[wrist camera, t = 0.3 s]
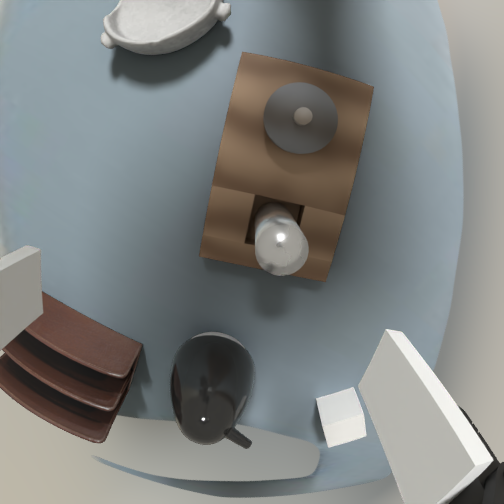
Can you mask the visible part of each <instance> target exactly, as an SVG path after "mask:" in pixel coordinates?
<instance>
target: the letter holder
mask: <svg viewBox="0 0 504 504" xmlns="http://www.w3.org/2000/svg"><path fill="white" fill-rule="evenodd" d="M42 303H43V314H41V315H40V316H39V317H38V318H37V319H35V320H34V321H33V322H32V323H31V324H30V325H29V326H27V327H26V328H25V329H24V330H23V331H22V332H21V333H19V334H18V335H17V336H16V337H15V338H14V339H13V340H12V341H10V342H9V343H8V344H7V345H6V346H5V347H4V348H3V349H2V350H3V351H4V352H5V353H4V354H3V355H2V356H1V357H0V388H1V389H2V390H3V391H4V392H5V393H6V394H8V395H9V396H10V397H11V398H12V399H14V400H15V401H16V402H18V403H19V404H20V405H22V406H23V407H25V408H26V409H27V410H29V411H30V412H32V413H34V414H35V415H37V416H38V417H40V418H42V419H44V420H45V421H47V422H49V423H51V424H53V425H54V426H57V427H58V428H60V429H62V430H64V431H66V432H69V433H71V434H73V435H75V436H78V437H80V438H83V439H85V440H88V441H91V442H93V443H103V442H104V441H105V440H106V438H107V436H108V433H109V431H110V429H111V426H112V424H113V422H114V420H115V418H116V415H117V413H118V411H119V409H120V407H121V405H122V403H123V401H124V399H125V397H126V395H127V393H128V391H129V388H130V385H131V381H132V378H133V375H134V372H135V369H136V365H137V362H138V359H139V356H140V352H141V349H142V344H141V343H139V342H136V341H134V340H133V339H130V338H128V337H126V336H124V335H122V334H120V333H117V332H116V331H114V330H112V329H110V328H108V327H106V326H104V325H102V324H100V323H98V322H96V321H94V320H92V319H90V318H89V317H87V316H85V315H83V314H81V313H79V312H77V311H76V310H74V309H72V308H70V307H69V306H66V305H65V304H63V303H62V302H60V301H58V300H56V299H54V298H53V297H51V296H49V295H48V294H46V293H44V292H42Z"/></svg>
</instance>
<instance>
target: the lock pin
mask: <svg viewBox="0 0 504 504" xmlns="http://www.w3.org/2000/svg"><path fill="white" fill-rule="evenodd" d="M308 252H309V247H308V242H307V239H306V237H305V236H304V234H303V233H302V231H301V229H300V228H299V226H298V224H297V223H296V221H295V220H294V218H293V217H292V215H291V213H290V212H289V210H288V209H287V208H286V207H285V206H284V205H283V204H281V203H278V202H268V203H265V204H263V205H262V206H261V207H260V208H259V209H258V210H257V212H256V215H255V254H256V259H257V261H258V263H259V265H260V266H261V267H262V268H263V269H264V270H265V271H267V272H268V273H270V274H273V275H278V276H285V275H290V274H292V273H294V272H296V271H298V270H299V269H300V268H301V267H302V266H303V265H304V263H305V262H306V260H307V257H308Z"/></svg>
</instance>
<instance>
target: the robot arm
mask: <svg viewBox="0 0 504 504" xmlns="http://www.w3.org/2000/svg"><path fill="white" fill-rule="evenodd" d="M41 314H43V303H42V285H41V249H38V248H35V247H31V246H28V245H26V246H24V247H22V248H20V249H18V250H16V251H14V252H11V253H9V254H7V255H5V256H3V257H1V258H0V350H2V349H3V348H4V347H5V346H6V345H7V344H8V343H9V342H10V341H12V340H13V339H14V338H15V337H16V336H17V335H18V334H19V333H21V332H22V331H23V330H24V329H25V328H26V327H27V326H29V325H30V324H31V323H32V322H33V321H34V320H35V319H37V318H38V317H39V316H40V315H41ZM358 388H359V390H360V392H361V395H362V397H363V400H364V402H365V404H366V407H367V409H368V412H369V414H370V417H371V419H372V421H373V424H374V426H375V429H376V431H377V434H378V436H379V439H380V441H381V444H382V446H383V449H384V452H385V454H386V457H387V459H388V462H389V464H390V467H391V470H392V472H393V475H394V477H395V480H396V483H397V486H398V488H399V491H400V494H401V497H402V499H403V502H404V504H504V462H502V463H501V464H500V463H499V461H498V460H497V458H496V457H495V455H494V454H493V452H492V451H491V449H490V448H489V446H488V444H487V443H486V442H485V440H484V438H483V437H482V435H481V434H480V433H478V429H477V428H476V427H475V425H474V424H472V421H471V419H470V418H469V417H468V415H467V414H466V412H465V411H464V410H463V409H462V408H460V407H459V406H458V405H457V404H456V403H455V402H454V400H453V399H452V398H451V396H450V395H449V393H448V392H447V391H446V389H445V388H444V386H443V385H442V384H441V382H440V381H439V379H438V378H437V377H436V375H435V374H434V373H433V371H432V370H431V369H430V367H429V366H428V365H427V363H426V362H425V361H424V359H423V358H422V357H421V356H420V354H419V353H418V352H417V350H416V349H415V348H414V346H413V345H412V344H411V343H410V341H409V340H408V339H407V337H406V336H405V335H404V334H403V332H401V331H394V330H388V329H386V330H385V332H384V334H383V336H382V338H381V341H380V343H379V345H378V347H377V349H376V351H375V353H374V355H373V358H372V360H371V362H370V364H369V366H368V368H367V370H366V372H365V374H364V376H363V377H362V379H361V381H360V383H359V385H358Z"/></svg>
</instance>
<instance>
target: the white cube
mask: <svg viewBox="0 0 504 504" xmlns="http://www.w3.org/2000/svg"><path fill="white" fill-rule="evenodd" d="M316 400H317V405H318V409H319V414H320V418H321V423H322V427H323V430H324V434H325V437H326V441H327V444H328V448H329V447H332V446H336V445H339V444H343V443H346V442H350V441H353V440H356V439H359V438H362V437H365V436H366V428H365V420H364V413H363V410H362V408H361V405H360V402H359V400H358V397H357V395H356V392H355V389H354V387H352V388H349V389H346V390H343V391H340V392H336V393H333V394H330V395H326V396H323V397H320V398H316Z"/></svg>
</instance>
